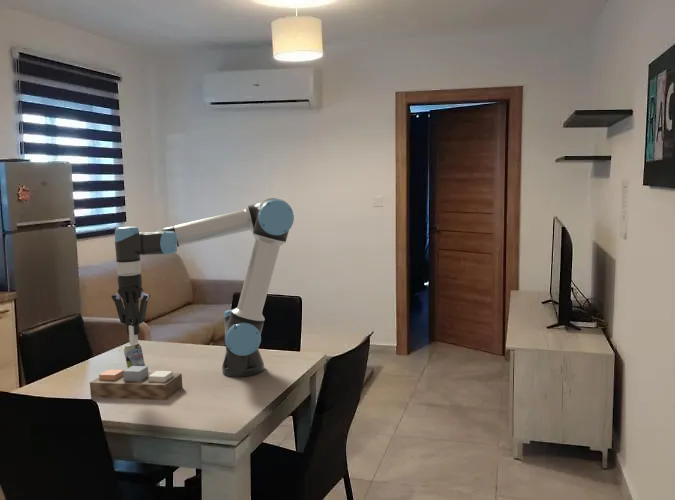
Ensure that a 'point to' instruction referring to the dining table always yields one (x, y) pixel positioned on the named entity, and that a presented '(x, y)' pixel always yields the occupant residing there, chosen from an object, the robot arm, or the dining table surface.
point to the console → (136, 388)
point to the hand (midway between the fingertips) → (134, 344)
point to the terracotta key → (111, 375)
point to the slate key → (135, 373)
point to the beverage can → (134, 355)
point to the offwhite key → (160, 376)
